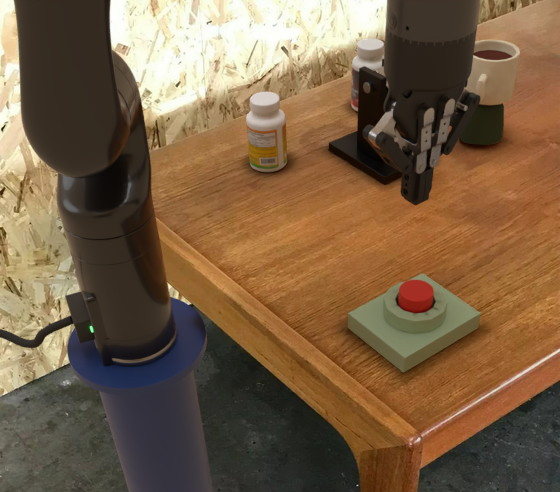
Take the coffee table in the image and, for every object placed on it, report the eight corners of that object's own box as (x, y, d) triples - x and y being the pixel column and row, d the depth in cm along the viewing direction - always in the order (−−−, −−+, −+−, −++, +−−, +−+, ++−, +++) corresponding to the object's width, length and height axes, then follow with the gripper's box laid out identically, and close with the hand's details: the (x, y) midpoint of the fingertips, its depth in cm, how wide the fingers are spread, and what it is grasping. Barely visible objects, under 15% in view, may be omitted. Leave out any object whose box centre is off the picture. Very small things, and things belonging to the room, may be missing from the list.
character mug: (465, 117, 119) (476, 30, 110) (512, 125, 117) (528, 37, 108) (444, 153, 112) (455, 63, 103) (494, 162, 110) (510, 70, 101)
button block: (403, 373, 82) (406, 345, 79) (347, 327, 87) (348, 300, 84) (478, 328, 86) (483, 300, 83) (420, 287, 92) (423, 259, 89)
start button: (414, 318, 82) (415, 306, 81) (391, 301, 85) (391, 288, 83) (439, 304, 84) (441, 291, 83) (415, 287, 86) (417, 275, 85)
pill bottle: (344, 102, 124) (346, 40, 117) (375, 95, 125) (378, 33, 118) (360, 117, 120) (362, 54, 113) (391, 110, 122) (395, 46, 115)
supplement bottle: (269, 149, 115) (266, 84, 108) (295, 162, 112) (293, 97, 105) (241, 163, 112) (236, 98, 106) (267, 177, 110) (263, 111, 103)
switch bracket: (432, 162, 111) (442, 73, 102) (384, 184, 107) (389, 94, 98) (375, 129, 118) (379, 43, 109) (328, 150, 114) (328, 62, 105)
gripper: (403, 57, 61) (391, 242, 73) (520, 11, 66) (490, 191, 78) (340, 28, 65) (339, 207, 77) (455, -13, 70) (436, 161, 83)
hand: (415, 199), depth 78 cm, fingers closed
